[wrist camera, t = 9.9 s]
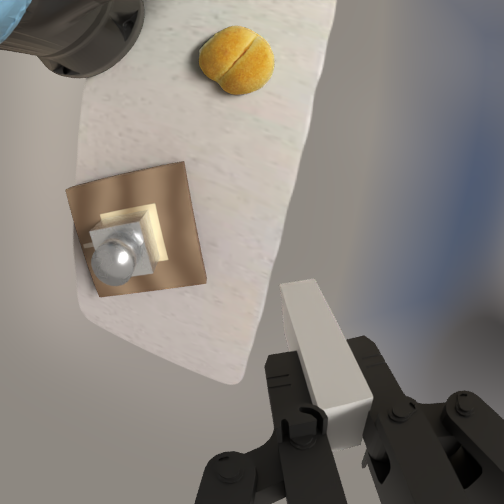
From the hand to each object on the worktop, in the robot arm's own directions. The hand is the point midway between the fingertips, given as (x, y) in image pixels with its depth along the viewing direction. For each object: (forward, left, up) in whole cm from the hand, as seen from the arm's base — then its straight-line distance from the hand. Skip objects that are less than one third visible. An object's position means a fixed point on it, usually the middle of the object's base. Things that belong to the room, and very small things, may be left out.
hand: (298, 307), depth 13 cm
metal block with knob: (+16, -2, -25) cm, 30 cm away
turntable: (+16, -1, -27) cm, 31 cm away
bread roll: (-6, -15, -29) cm, 33 cm away
